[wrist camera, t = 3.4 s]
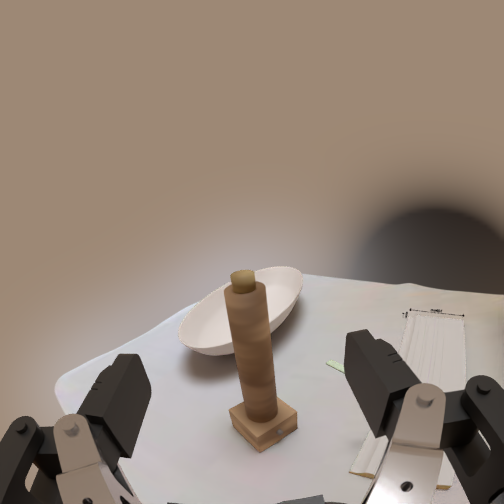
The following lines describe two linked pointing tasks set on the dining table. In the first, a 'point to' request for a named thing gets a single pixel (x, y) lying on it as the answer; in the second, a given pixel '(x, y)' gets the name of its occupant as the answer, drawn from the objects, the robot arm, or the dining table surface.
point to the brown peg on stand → (255, 365)
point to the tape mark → (336, 365)
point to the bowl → (216, 319)
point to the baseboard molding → (424, 379)
